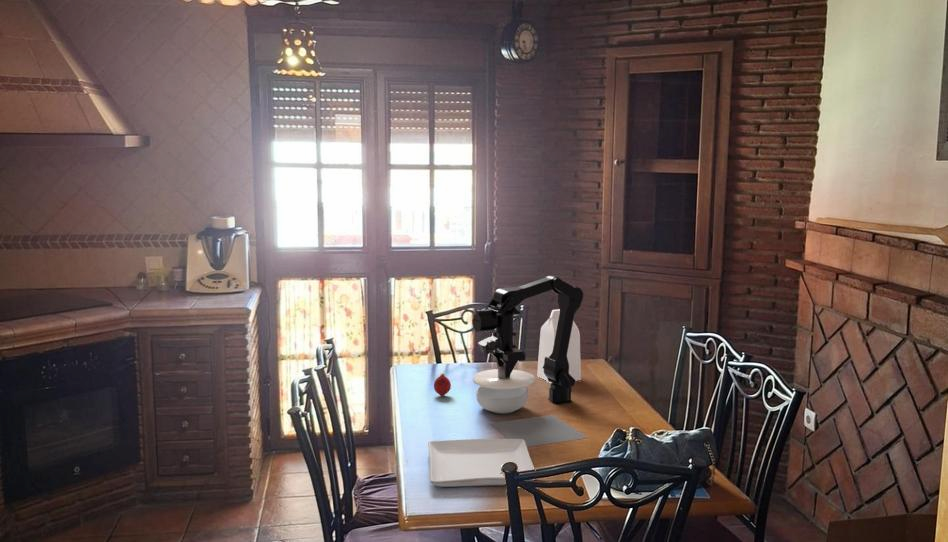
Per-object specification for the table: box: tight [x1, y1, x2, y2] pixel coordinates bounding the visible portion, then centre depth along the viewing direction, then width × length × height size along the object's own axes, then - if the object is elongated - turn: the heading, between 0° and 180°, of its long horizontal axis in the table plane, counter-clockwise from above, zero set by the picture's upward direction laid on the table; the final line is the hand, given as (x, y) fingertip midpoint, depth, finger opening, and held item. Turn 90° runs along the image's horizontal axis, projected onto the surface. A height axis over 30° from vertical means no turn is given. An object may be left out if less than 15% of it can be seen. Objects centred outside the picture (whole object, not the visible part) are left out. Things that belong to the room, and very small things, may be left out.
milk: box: [536, 308, 582, 384], centre depth 300 cm, size 12×12×26 cm
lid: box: [472, 365, 536, 389], centre depth 263 cm, size 20×20×4 cm
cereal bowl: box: [475, 386, 529, 414], centre depth 266 cm, size 17×17×7 cm
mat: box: [489, 414, 588, 448], centre depth 247 cm, size 22×22×1 cm
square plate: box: [427, 438, 536, 488], centre depth 218 cm, size 27×27×4 cm
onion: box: [433, 372, 452, 397], centre depth 280 cm, size 6×6×8 cm
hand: (504, 375), depth 263 cm, fingers closed on lid, 4 cm apart
